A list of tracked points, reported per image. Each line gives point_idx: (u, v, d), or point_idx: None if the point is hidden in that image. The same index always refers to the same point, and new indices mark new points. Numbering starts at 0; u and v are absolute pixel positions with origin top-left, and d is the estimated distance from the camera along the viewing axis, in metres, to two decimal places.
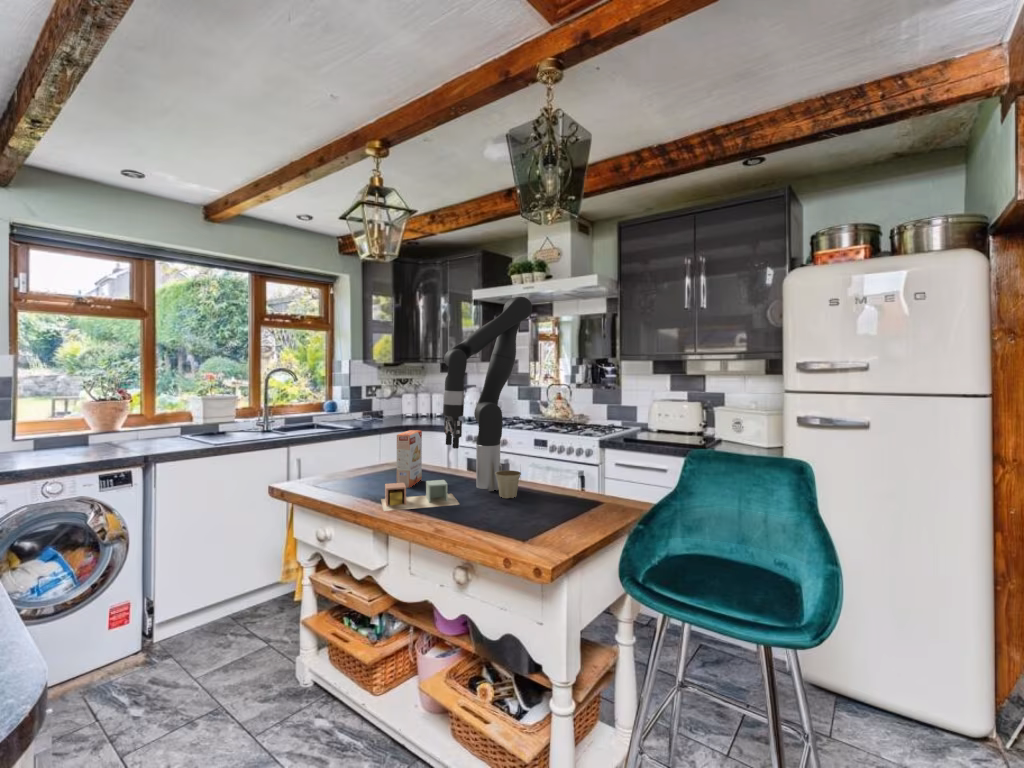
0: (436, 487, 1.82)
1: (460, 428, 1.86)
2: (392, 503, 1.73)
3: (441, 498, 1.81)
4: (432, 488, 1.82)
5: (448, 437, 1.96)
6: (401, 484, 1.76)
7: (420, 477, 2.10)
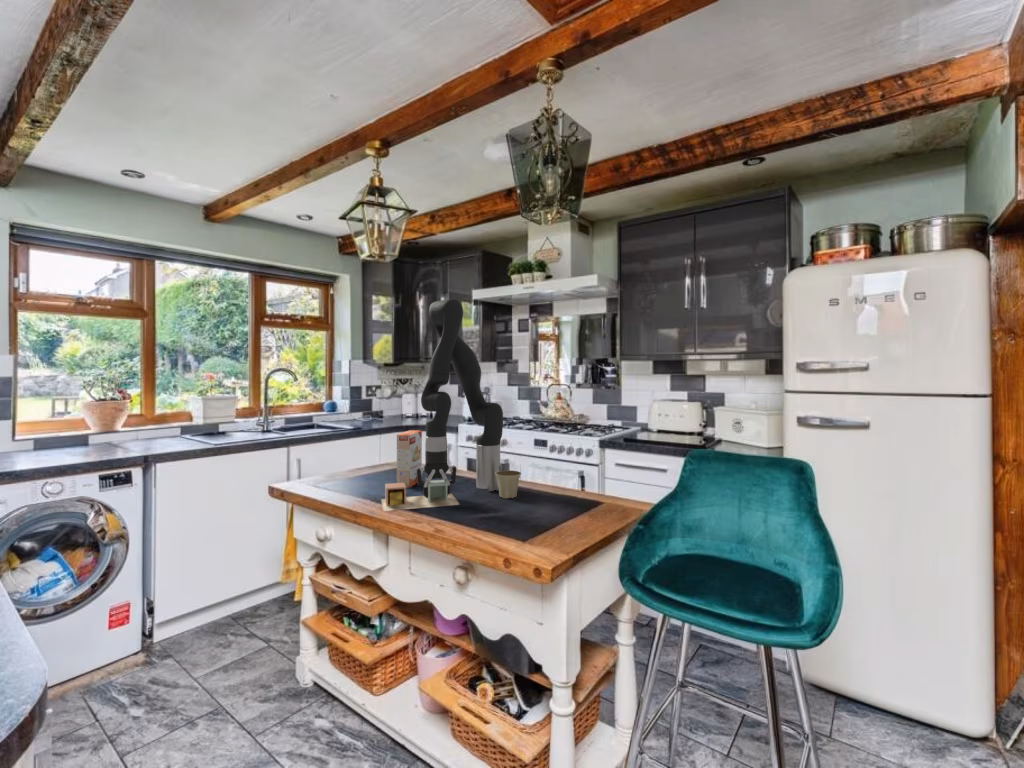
0: (436, 487, 1.82)
1: None
2: (392, 503, 1.73)
3: (441, 498, 1.81)
4: (432, 488, 1.82)
5: (427, 489, 1.78)
6: (401, 484, 1.76)
7: None
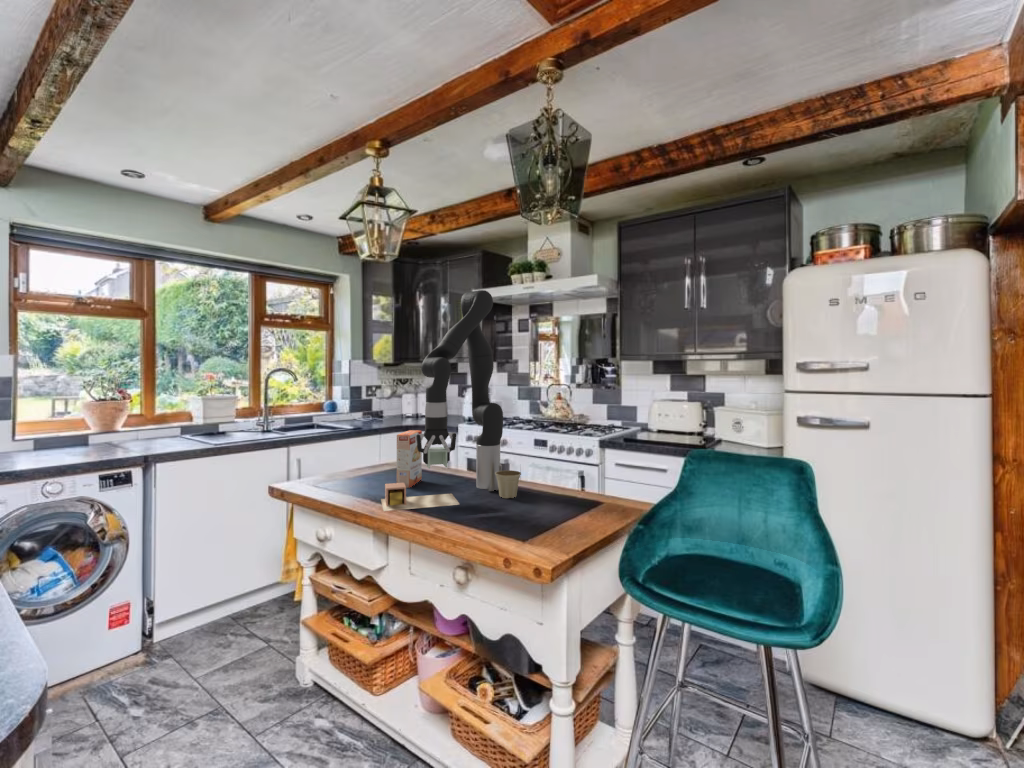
0: (436, 454, 1.81)
1: None
2: (392, 503, 1.73)
3: (441, 498, 1.81)
4: (432, 455, 1.81)
5: None
6: (401, 484, 1.76)
7: (420, 477, 2.10)
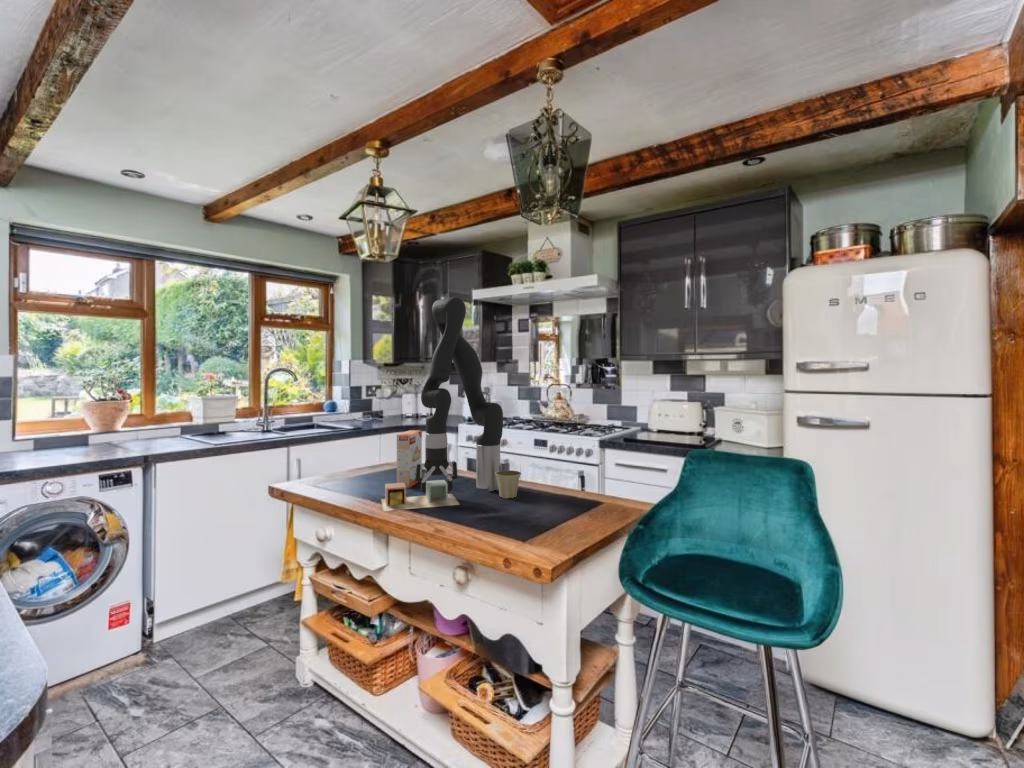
0: (436, 487, 1.82)
1: None
2: (392, 503, 1.73)
3: (441, 498, 1.81)
4: (432, 488, 1.82)
5: None
6: (401, 484, 1.76)
7: (420, 477, 2.10)
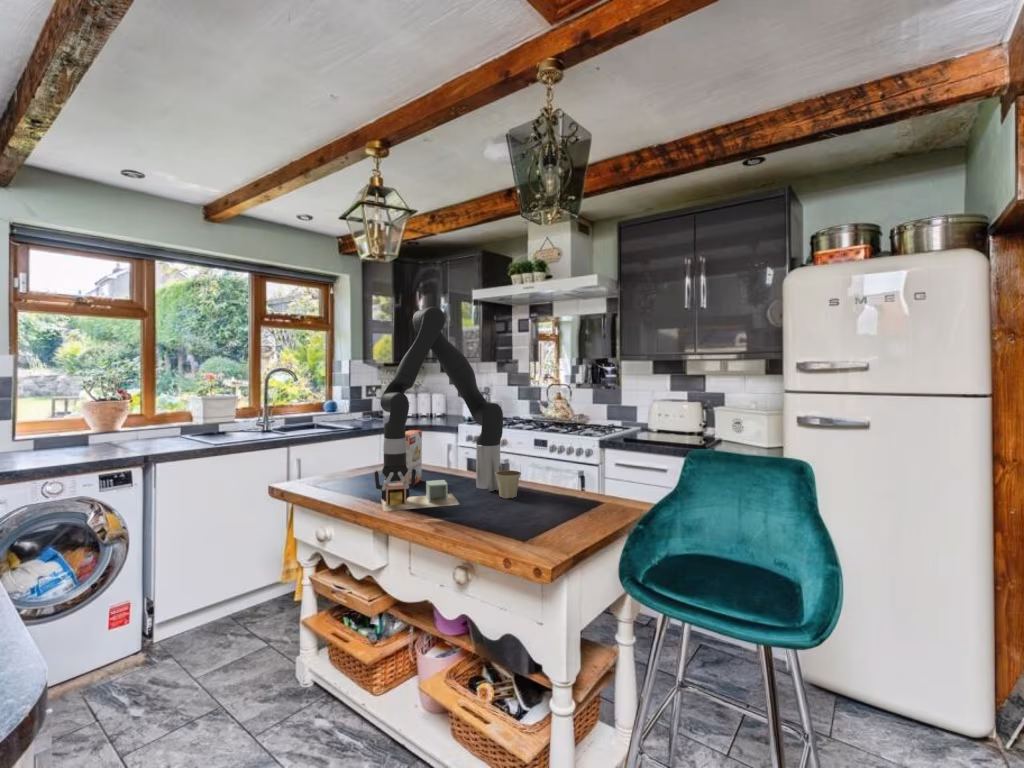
0: (436, 487, 1.82)
1: None
2: (392, 503, 1.73)
3: (441, 498, 1.81)
4: (432, 488, 1.82)
5: (385, 492, 1.74)
6: (401, 484, 1.76)
7: (420, 477, 2.10)
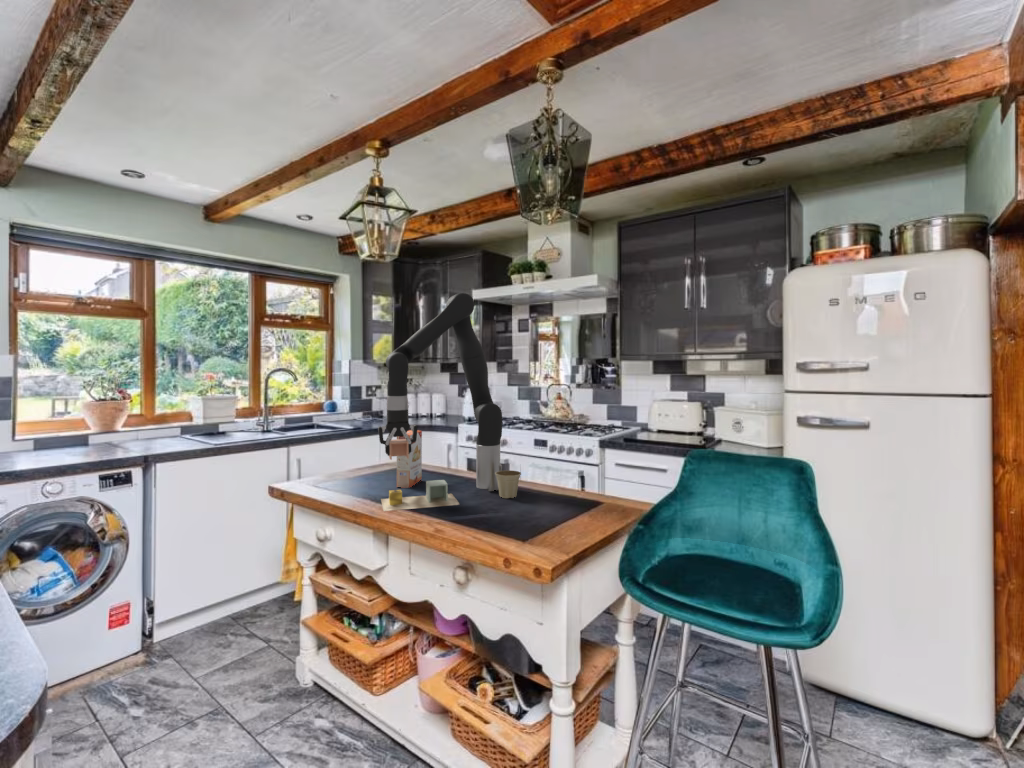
0: (436, 487, 1.82)
1: None
2: (392, 503, 1.73)
3: (441, 498, 1.81)
4: (432, 488, 1.82)
5: None
6: (403, 440, 1.87)
7: (420, 477, 2.10)
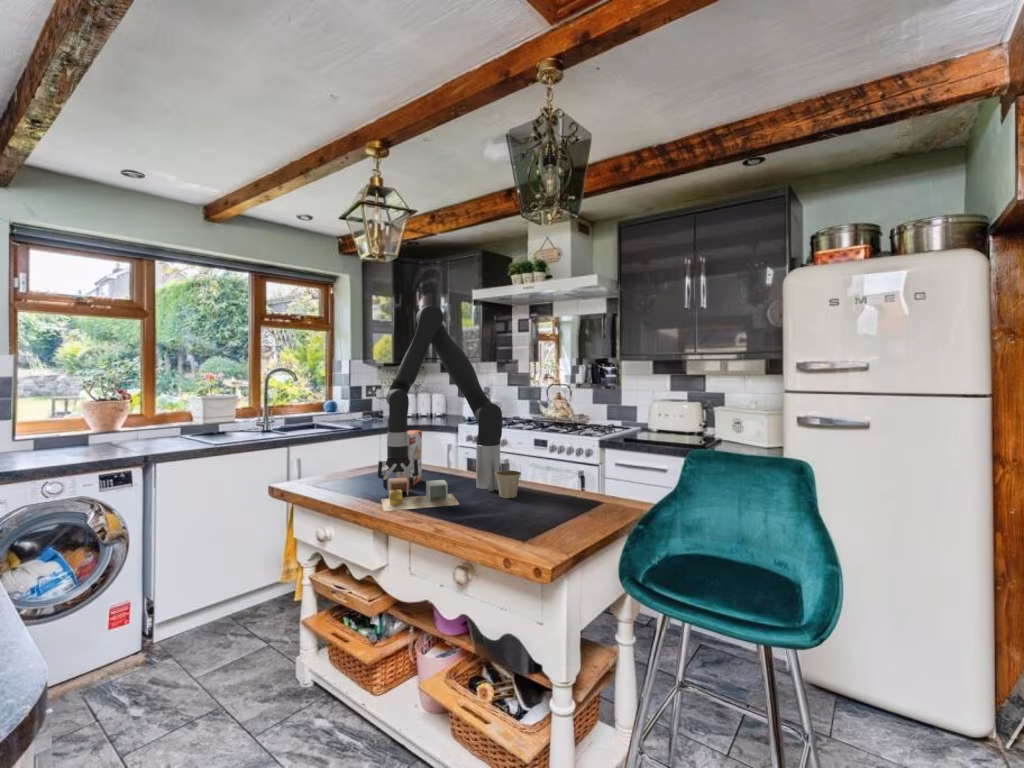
0: (436, 487, 1.82)
1: None
2: (392, 503, 1.73)
3: (441, 498, 1.81)
4: (432, 488, 1.82)
5: None
6: (404, 479, 1.88)
7: (420, 477, 2.10)
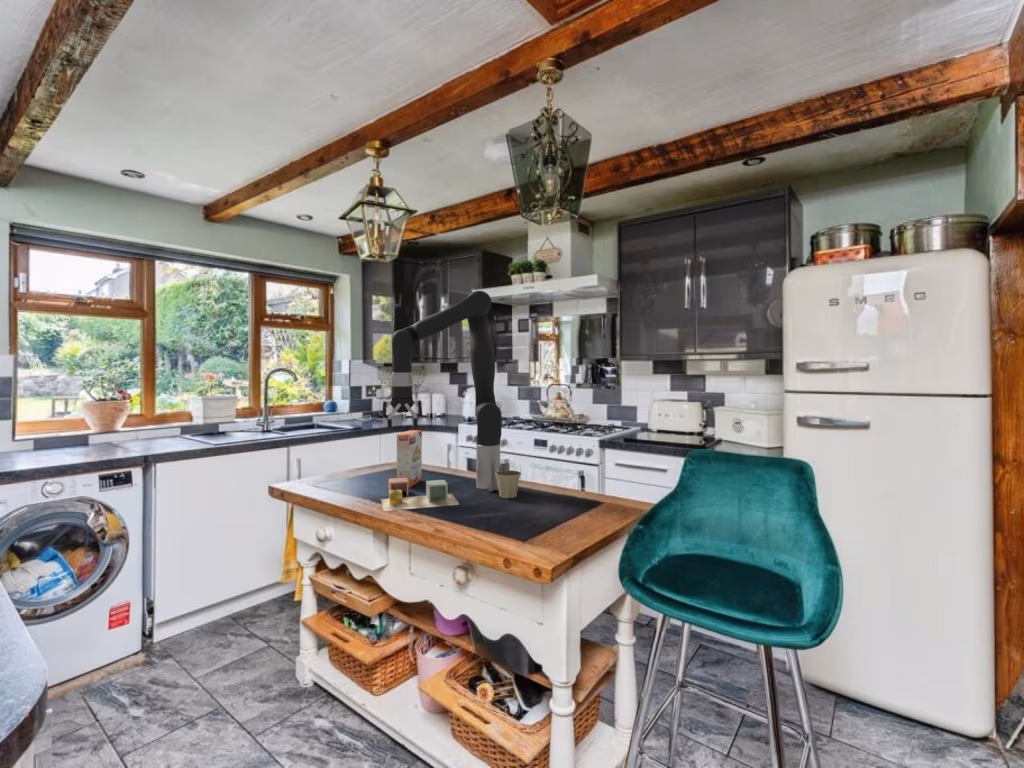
0: (436, 487, 1.82)
1: None
2: (392, 503, 1.73)
3: (441, 498, 1.81)
4: (432, 488, 1.82)
5: (391, 421, 1.88)
6: (404, 479, 1.88)
7: (420, 477, 2.10)
